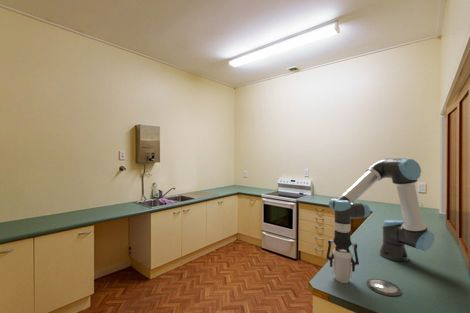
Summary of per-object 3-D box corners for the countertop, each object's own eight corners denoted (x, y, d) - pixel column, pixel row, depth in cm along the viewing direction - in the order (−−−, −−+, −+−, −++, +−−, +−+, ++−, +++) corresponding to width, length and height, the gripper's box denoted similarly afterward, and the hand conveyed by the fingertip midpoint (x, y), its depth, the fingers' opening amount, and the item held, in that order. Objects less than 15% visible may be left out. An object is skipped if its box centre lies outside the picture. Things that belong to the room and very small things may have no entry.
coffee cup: (346, 274, 121) (346, 246, 121) (356, 284, 111) (356, 254, 112) (328, 274, 121) (329, 246, 121) (337, 284, 111) (337, 254, 111)
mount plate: (365, 277, 119) (365, 275, 119) (397, 284, 113) (397, 282, 113) (368, 291, 106) (368, 289, 106) (404, 299, 100) (404, 297, 100)
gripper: (320, 229, 118) (320, 273, 117) (366, 236, 109) (365, 283, 108) (321, 226, 124) (321, 267, 124) (364, 231, 116) (364, 276, 115)
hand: (342, 275), depth 116 cm, fingers closed on coffee cup, 8 cm apart
